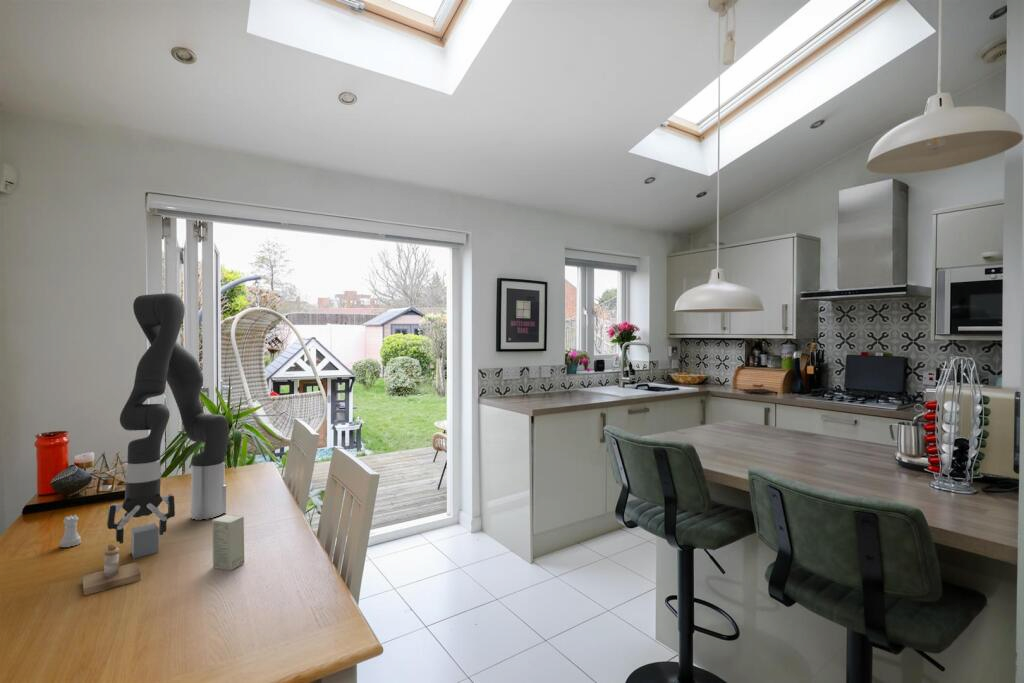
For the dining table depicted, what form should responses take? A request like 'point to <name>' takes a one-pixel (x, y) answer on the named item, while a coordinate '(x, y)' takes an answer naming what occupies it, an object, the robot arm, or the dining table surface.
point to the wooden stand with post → (111, 573)
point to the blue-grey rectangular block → (144, 540)
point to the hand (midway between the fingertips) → (141, 538)
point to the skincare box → (228, 542)
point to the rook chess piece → (70, 532)
